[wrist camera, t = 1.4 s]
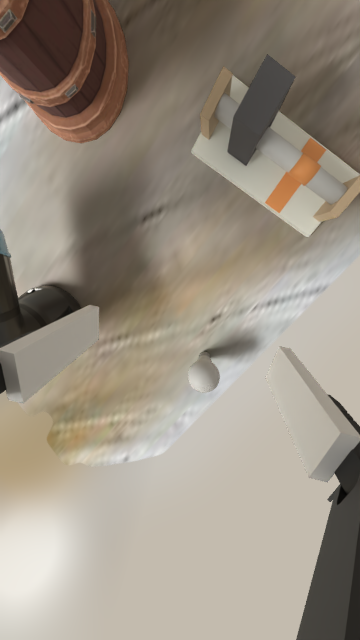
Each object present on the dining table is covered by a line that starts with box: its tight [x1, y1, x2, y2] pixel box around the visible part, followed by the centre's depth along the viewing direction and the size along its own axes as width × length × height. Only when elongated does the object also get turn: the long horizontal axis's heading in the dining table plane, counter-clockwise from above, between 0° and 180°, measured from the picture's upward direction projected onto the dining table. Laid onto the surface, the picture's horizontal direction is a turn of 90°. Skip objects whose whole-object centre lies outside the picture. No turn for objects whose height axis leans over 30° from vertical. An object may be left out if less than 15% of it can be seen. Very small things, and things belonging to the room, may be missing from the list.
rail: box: [191, 66, 360, 237], centre depth 28 cm, size 24×10×6 cm, turn 58°
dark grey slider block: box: [227, 54, 295, 166], centre depth 24 cm, size 4×5×9 cm, turn 148°
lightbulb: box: [188, 352, 220, 393], centre depth 39 cm, size 6×6×11 cm
